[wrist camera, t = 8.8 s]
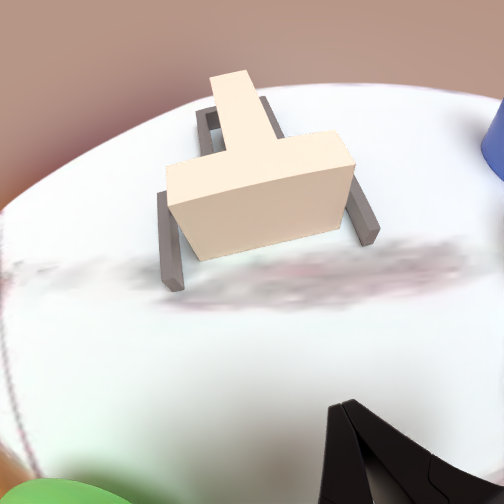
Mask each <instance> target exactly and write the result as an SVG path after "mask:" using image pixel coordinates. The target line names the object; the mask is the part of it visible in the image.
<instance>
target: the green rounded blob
mask: <svg viewBox="0 0 504 504" xmlns="http://www.w3.org/2000/svg"><path fill="white" fill-rule="evenodd" d="M0 504H132V503H131V502H129V501H127V500H125V499H123V498H121V497H119V496H117V495H115V494H113V493H111V492H109V491H106V490H104V489H101V488H98V487H95V486H92V485H89V484H86V483H82V482H77V481H73V480H66V479H57V478H43V479H35V480H30V481H27V482H24V483H21V484H19V485H17V486H16V487H14V488H12V489H11V490H10V491H8V492H7V493H6V494H5V495H4V496H3V497H2V498H1V499H0Z"/></svg>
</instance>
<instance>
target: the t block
mask: <svg viewBox="0 0 504 504" xmlns="http://www.w3.org/2000/svg"><path fill="white" fill-rule="evenodd" d="M210 81H211V85H212V90H213V94H214V99H215V103H216V107H217V111H218V116H219V120H220V124H221V129H222V133H223V137H224V142H225V146H226V151H222V152H218V153H214V154H210V155H206V156H202V157H198V158H195V159H191V160H187V161H184V162H180V163H177V164H173V165H170V166H166V181H167V204H168V208H169V209H170V211H171V213H172V215H173V216H174V218H175V220H176V222H177V223H178V225H179V227H180V228H181V230H182V232H183V233H184V235H185V237H186V238H187V240H188V242H189V244H190V245H191V247H192V249H193V250H194V252H195V253H196V255H197V257H198V258H199V260H200V262H202V261H206V260H210V259H214V258H218V257H222V256H227V255H231V254H235V253H239V252H243V251H248V250H252V249H256V248H260V247H265V246H269V245H273V244H277V243H281V242H286V241H290V240H294V239H298V238H302V237H307V236H311V235H315V234H319V233H324V232H328V231H332V230H336V229H339V228H340V225H341V221H342V217H343V214H344V210H345V206H346V202H347V198H348V194H349V190H350V186H351V182H352V178H353V174H354V170H355V165H356V164H355V162H354V160H353V159H352V157H351V155H350V153H349V152H348V150H347V148H346V147H345V145H344V143H343V142H342V140H341V138H340V137H339V135H338V133H337V132H336V130H331V131H324V132H317V133H311V134H305V135H299V136H293V137H288V138H282V139H277V138H276V135H275V133H274V130H273V128H272V126H271V124H270V121H269V119H268V117H267V114H266V112H265V110H264V108H263V105H262V103H261V101H260V99H259V97H258V94H257V92H256V90H255V88H254V86H253V84H252V81H251V79H250V77H249V75H248V73H247V71H246V70H244V71H239V72H234V73H229V74H224V75H219V76H215V77H211V78H210Z"/></svg>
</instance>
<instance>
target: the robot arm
mask: <svg viewBox="0 0 504 504" xmlns="http://www.w3.org/2000/svg"><path fill="white" fill-rule="evenodd" d="M373 501H374V503H375V504H504V486H500V485H496V484H493V483H491V482H488V481H486V480H483V479H481V478H478V477H476V476H473V475H471V474H469V473H466V472H464V471H462V470H460V469H458V468H456V467H454V466H452V465H450V464H448V463H447V462H445V461H443V460H442V459H440V458H438V457H437V456H435V455H434V454H431V452H429V451H428V450H426V449H425V448H423V447H422V446H420V445H419V444H417V443H416V442H414V441H413V440H411V439H410V438H408V437H407V436H405V435H404V434H402V433H401V432H400V431H398V430H397V429H395V428H394V427H392V426H391V425H390V424H388V423H387V422H385V421H384V420H382V419H381V418H380V417H378V416H377V415H375V414H374V413H373V412H371V411H370V410H369V409H367V408H366V407H364V406H363V405H362V404H360V403H359V402H358V401H356V400H355V399H351V400H348V401H345V402H342V404H340V403H339V404H335V405H332V406H329V407H328V416H327V429H326V441H325V451H324V461H323V470H322V478H321V486H320V493H319V499H318V504H374V503H373Z"/></svg>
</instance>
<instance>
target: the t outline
mask: <svg viewBox="0 0 504 504" xmlns="http://www.w3.org/2000/svg"><path fill="white" fill-rule="evenodd" d="M259 99H260V101H261V103H262V105H263V108H264V110H265V112H266V114H267V117H268V119H269V121H270V124H271V126H272V128H273V130H274V133H275V135H276V138H277V139H282V138H285V137H284V135H283V133H282V131H281V128H280V126H279V124H278V122H277V120H276V118H275V116H274V113H273V111H272V109H271V107H270V105H269V103H268V101H267V99H266V97H265V96H261V97H259ZM196 118H197V125H198V133H199V140H200V147H201V154H202V156H206V155H210V154H214V151H213V145H212V140H211V135H210V130H212V129H216V128H220V127H221V124H220V120H219V116H218V111H217V107H216V106H214V107H210V108H206V109H202V110H198V111H196ZM345 207H346V209H347V211H348V213H349V215H350V218H351V220H352V222H353V225H354V227H355V229H356V232H357V234H358V236H359V239H360V241H361V244H362V246H366V245H369V244H373V243H374V241H375V239H376V237H377V235H378V233H379V231H380V226H379V224H378V221H377V219H376V217H375V215H374V213H373V211H372V209H371V207H370V205H369V203H368V201H367V199H366V197H365V195H364V193H363V191H362V189H361V187H360V185H359V183H358V181H357V179H356V178H355V176H354V174H353V178H352V182H351V186H350V190H349V194H348V198H347V202H346V206H345ZM157 208H158V233H159V251H160V266H161V278H162V281H163V282H164V283H165V284H166V285H167V286H168V287H169V288H170V289H171V290H172V291H173V292H175V291H179V290H184V281H183V273H182V264H181V255H180V245H179V235H178V224H177V222H176V220H175V218H174V216H173V215H172V213H171V211H170V209H169V208H168V204H167V190H166V191H163V192H160V193H157Z"/></svg>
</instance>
